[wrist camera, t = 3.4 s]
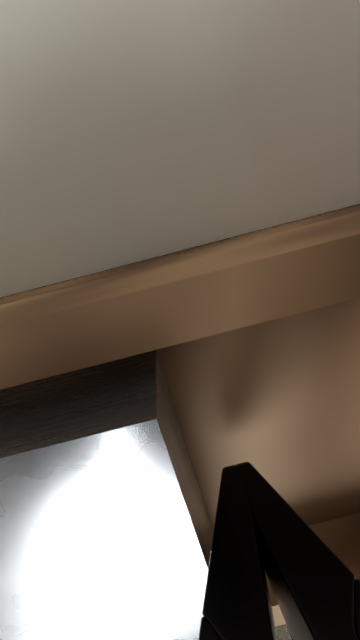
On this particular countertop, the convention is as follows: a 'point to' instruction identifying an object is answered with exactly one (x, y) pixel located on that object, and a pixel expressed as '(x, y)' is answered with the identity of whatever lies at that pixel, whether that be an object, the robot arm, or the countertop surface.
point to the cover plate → (100, 508)
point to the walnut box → (231, 357)
